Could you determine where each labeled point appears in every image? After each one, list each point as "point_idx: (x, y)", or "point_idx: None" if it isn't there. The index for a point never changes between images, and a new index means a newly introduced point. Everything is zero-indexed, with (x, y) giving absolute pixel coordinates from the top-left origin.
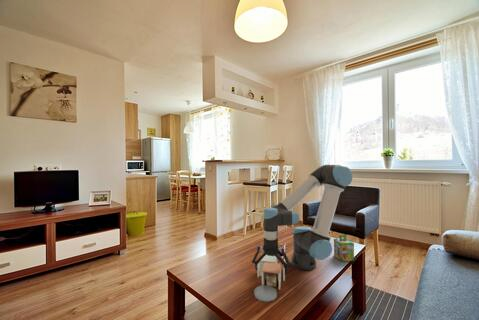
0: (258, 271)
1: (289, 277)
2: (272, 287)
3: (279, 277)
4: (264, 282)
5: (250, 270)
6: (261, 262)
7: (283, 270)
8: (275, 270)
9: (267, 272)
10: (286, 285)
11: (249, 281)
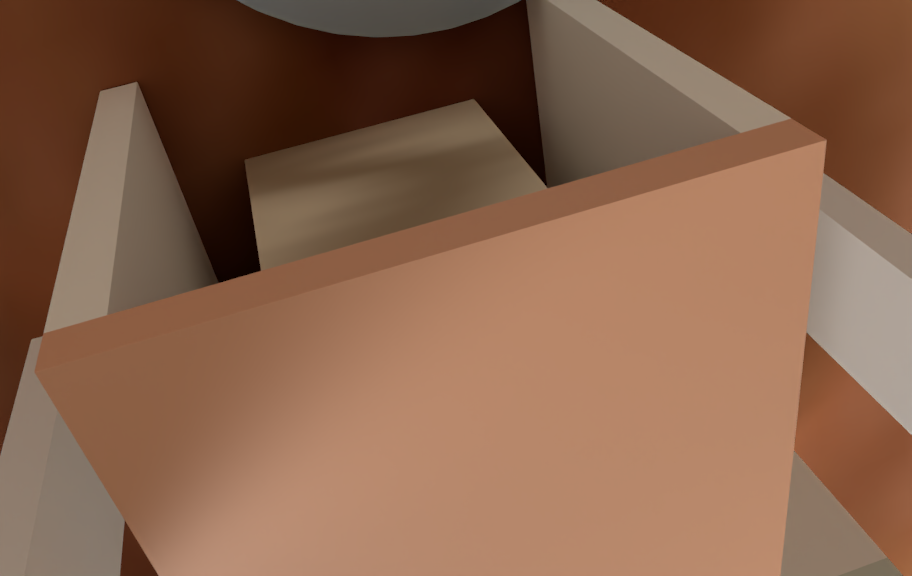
0: (838, 218)
1: (129, 568)
2: (282, 3)
3: (76, 246)
4: (548, 172)
5: (866, 392)
6: (822, 568)
7: (11, 573)
8: (282, 405)
9: None
10: (44, 317)
11: (858, 68)
